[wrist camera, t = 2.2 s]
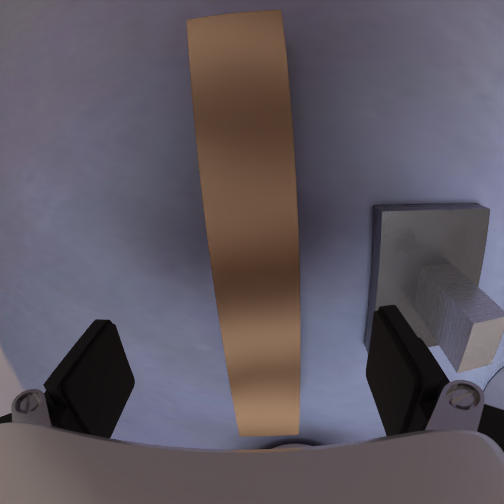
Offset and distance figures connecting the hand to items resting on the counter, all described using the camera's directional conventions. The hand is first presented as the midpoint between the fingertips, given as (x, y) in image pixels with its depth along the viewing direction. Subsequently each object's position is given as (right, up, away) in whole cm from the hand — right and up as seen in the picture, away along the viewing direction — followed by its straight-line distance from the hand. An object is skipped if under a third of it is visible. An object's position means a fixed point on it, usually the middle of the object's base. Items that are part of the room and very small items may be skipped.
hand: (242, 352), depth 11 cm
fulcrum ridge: (+12, +2, +9) cm, 15 cm away
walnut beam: (+1, +4, +9) cm, 10 cm away
